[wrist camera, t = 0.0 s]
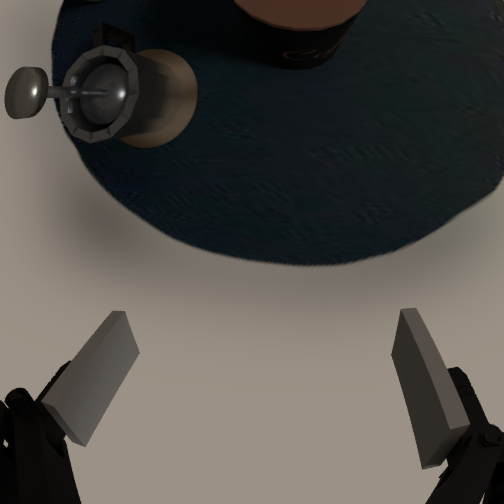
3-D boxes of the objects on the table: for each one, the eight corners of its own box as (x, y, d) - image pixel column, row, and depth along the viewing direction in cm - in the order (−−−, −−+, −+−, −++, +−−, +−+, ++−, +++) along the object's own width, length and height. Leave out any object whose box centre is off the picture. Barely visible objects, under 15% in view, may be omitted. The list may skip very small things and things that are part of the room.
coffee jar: (285, 86, 34) (278, 55, 17) (236, 24, 31) (195, -38, 14) (355, 48, 30) (401, -3, 14) (306, -13, 27) (312, -91, 11)
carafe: (111, 52, 33) (57, 39, 22) (176, 32, 31) (134, 5, 20) (119, 139, 38) (65, 150, 27) (185, 126, 36) (143, 130, 25)
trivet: (103, 65, 34) (100, 64, 34) (193, 39, 32) (192, 38, 31) (112, 155, 40) (110, 155, 39) (203, 139, 37) (202, 139, 37)
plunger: (82, 75, 26) (-5, 70, 14) (132, 57, 25) (48, 35, 13) (87, 129, 28) (-1, 145, 17) (137, 116, 27) (51, 122, 16)
